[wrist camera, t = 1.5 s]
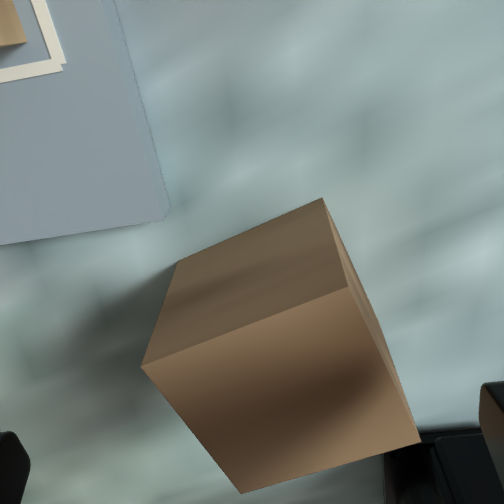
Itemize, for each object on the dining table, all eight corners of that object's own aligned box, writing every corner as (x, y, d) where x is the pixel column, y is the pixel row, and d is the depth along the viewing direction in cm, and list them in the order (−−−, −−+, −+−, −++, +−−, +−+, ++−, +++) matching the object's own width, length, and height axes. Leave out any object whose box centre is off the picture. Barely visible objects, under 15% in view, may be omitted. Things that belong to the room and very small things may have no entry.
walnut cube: (378, 319, 16) (421, 441, 11) (247, 366, 17) (240, 494, 12) (322, 196, 14) (348, 286, 9) (178, 260, 15) (140, 366, 10)
